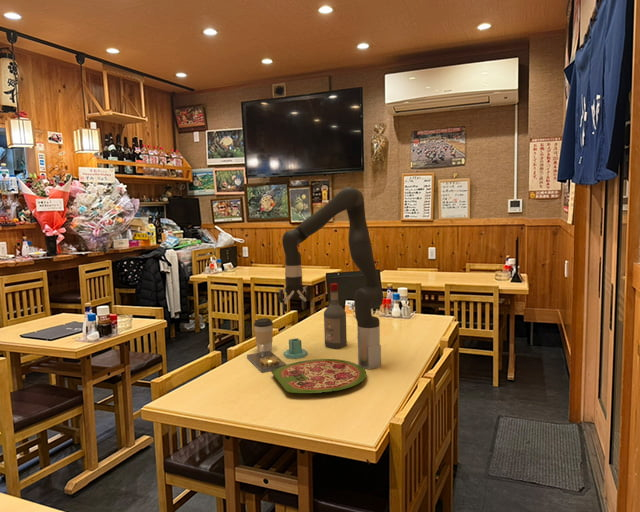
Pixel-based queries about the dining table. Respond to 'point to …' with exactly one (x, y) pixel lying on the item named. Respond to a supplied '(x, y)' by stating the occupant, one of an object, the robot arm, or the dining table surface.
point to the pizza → (319, 375)
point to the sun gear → (269, 361)
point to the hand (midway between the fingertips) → (294, 310)
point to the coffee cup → (264, 333)
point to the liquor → (335, 322)
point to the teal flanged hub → (295, 350)
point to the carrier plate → (257, 356)
